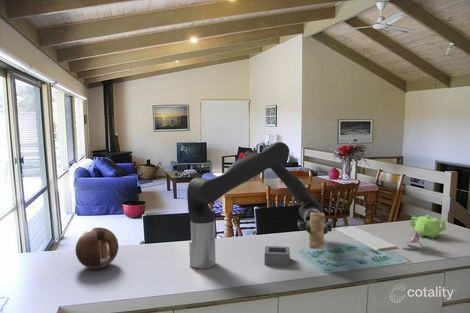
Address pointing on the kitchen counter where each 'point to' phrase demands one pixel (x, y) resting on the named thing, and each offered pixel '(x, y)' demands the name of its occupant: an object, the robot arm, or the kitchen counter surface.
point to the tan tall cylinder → (316, 230)
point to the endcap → (277, 256)
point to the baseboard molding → (365, 238)
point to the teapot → (427, 226)
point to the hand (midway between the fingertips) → (317, 231)
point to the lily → (416, 239)
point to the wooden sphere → (96, 248)
